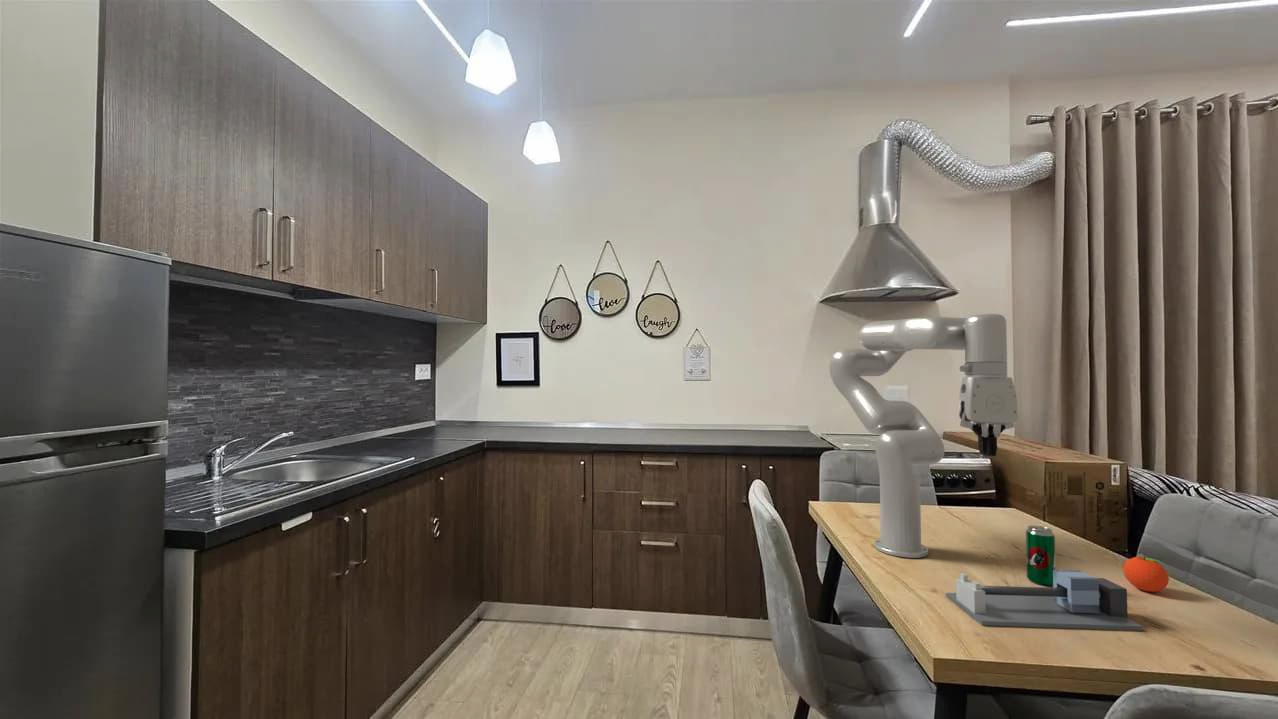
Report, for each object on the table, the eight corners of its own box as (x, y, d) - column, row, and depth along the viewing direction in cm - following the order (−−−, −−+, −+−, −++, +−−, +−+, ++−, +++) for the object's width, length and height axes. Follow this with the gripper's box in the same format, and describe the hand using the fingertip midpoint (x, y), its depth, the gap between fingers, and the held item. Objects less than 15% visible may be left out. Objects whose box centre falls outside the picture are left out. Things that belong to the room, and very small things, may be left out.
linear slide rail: (981, 625, 91) (981, 591, 91) (945, 596, 103) (945, 566, 103) (1145, 630, 89) (1144, 596, 90) (1089, 600, 101) (1088, 570, 101)
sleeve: (1071, 612, 94) (1070, 578, 94) (1053, 601, 98) (1052, 569, 98) (1099, 613, 93) (1098, 579, 94) (1080, 602, 98) (1079, 570, 98)
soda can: (1061, 588, 107) (1060, 532, 108) (1035, 585, 108) (1033, 530, 109) (1047, 578, 112) (1045, 525, 113) (1022, 576, 113) (1020, 524, 114)
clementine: (1165, 587, 108) (1164, 555, 108) (1184, 601, 101) (1182, 566, 102) (1117, 581, 111) (1116, 549, 111) (1132, 593, 105) (1131, 559, 105)
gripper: (960, 370, 105) (962, 457, 104) (1034, 370, 104) (1036, 458, 103) (941, 371, 112) (942, 451, 112) (1009, 371, 111) (1011, 452, 111)
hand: (987, 454), depth 107 cm, fingers closed
